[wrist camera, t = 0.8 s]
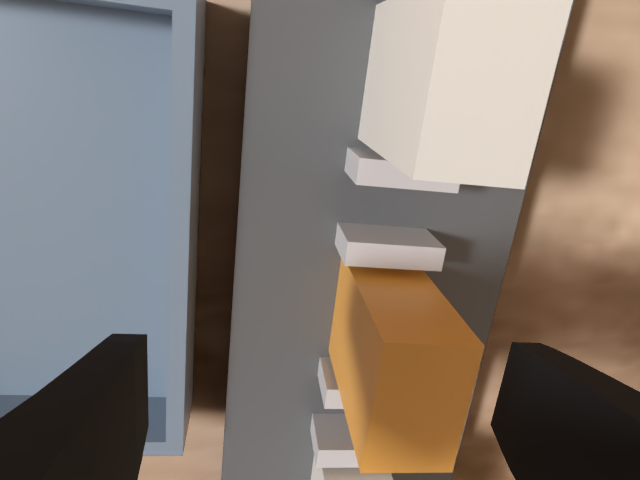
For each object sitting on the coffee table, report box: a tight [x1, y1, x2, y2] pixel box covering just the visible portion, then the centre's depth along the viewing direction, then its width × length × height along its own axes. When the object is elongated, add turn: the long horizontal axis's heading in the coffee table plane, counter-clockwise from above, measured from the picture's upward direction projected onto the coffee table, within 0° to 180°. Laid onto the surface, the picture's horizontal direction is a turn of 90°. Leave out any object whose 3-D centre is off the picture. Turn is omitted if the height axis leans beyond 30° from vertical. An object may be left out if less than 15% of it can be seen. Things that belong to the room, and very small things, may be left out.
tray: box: [0, 0, 207, 456], centre depth 16 cm, size 15×10×3 cm
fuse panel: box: [221, 0, 574, 480], centre depth 18 cm, size 24×10×4 cm, turn 174°
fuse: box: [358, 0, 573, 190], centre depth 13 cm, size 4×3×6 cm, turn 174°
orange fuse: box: [329, 259, 485, 473], centre depth 16 cm, size 4×3×6 cm, turn 174°
